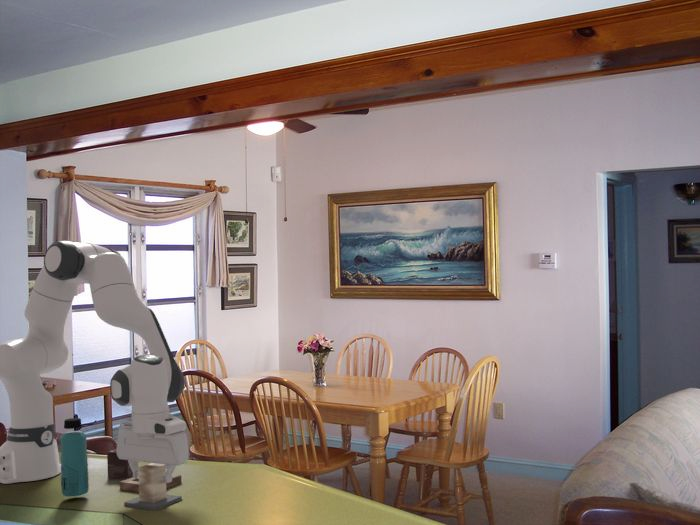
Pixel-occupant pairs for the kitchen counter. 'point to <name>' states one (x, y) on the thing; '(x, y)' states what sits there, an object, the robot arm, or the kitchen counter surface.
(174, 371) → the robot arm
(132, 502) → the mat
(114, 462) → the box
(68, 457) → the beverage bottle
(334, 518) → the kitchen counter surface
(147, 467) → the peg block
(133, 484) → the pocket holder
